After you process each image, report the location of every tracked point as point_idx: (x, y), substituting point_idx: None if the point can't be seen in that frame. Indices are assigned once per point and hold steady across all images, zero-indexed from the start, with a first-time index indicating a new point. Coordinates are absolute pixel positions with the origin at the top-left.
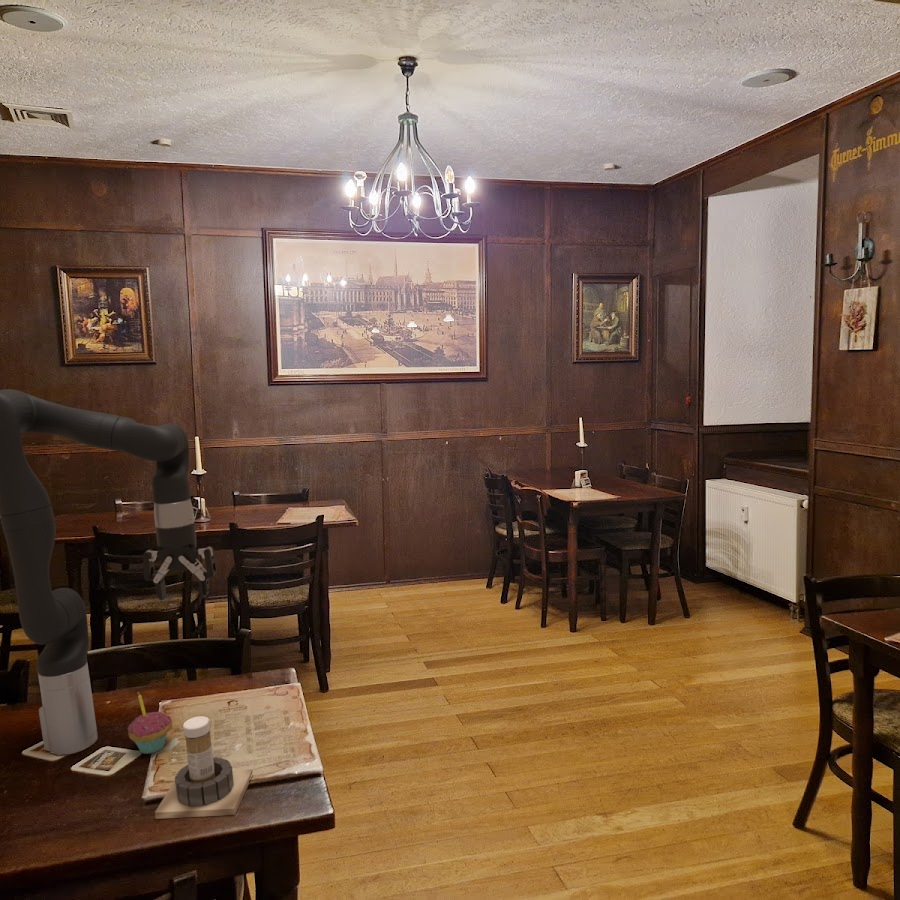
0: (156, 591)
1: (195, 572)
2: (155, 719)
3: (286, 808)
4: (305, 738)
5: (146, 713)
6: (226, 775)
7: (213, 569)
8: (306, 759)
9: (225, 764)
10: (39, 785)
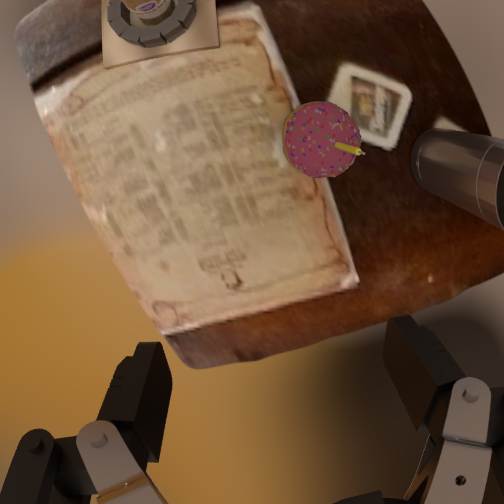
0: (440, 347)
1: (129, 484)
2: (309, 131)
3: (49, 19)
4: (68, 174)
5: (339, 159)
6: (110, 5)
7: (56, 489)
8: (49, 120)
9: (120, 26)
10: (427, 56)
